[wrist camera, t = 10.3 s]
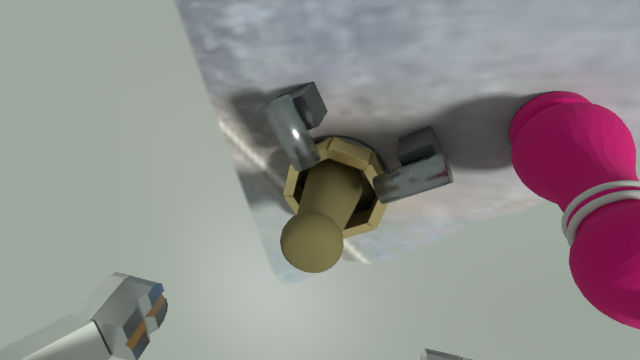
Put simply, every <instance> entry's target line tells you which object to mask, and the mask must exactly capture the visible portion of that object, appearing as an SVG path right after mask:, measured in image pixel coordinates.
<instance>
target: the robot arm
mask: <svg viewBox="0 0 640 360" xmlns="http://www.w3.org/2000/svg"><path fill="white" fill-rule="evenodd" d="M163 291H164V289H163V286H162V284H161V283H157V282H153V281H149V280H145V279H141V278H137V277H133V276H130V275H126V274H122V273H118V272H115V273H113V274H112V275H110V276H109V277H108V278H107V279H106V280H105V281H104V282H103V284H102V285H101V286H100V287H99V288H98V289H97V290H96V291H95V292H94V293H93V295H92V296H91V297H90V298H89V299H88V300H87V301H86V302H85V303H84V304H83V305H82V307H81V308H80V309H79V310H78V311H77V312H76V313H75V314H74V315H70V314H69V315H67V316H65V317H63V318H61V319H59V320H57V321H55V322H53V323H51V324H49V325H47V326H45V327H43V328H41V329H39V330H37V331H35V332H33V333H31V334H29V335H27V336H25V337H23V338H21V339H19V340H17V341H15V342H13V343H11V344H9V345H7V346H5V347H3V348H1V349H0V360H108V359H109V358H110V357H111V356H115V357H119V358H123V359H127V360H138V359H139V358H140V356H141V354H142V353H143V351H144V350H145V348H146V347H147V345H148V344H149V342H150V333H152V332H154V331H155V330H157V329H159V327H160V326H161V324H162V322H163V321H164V318H165V316H166V313H167V308H168V303H167V299H166V298H165V297H164V296H163V295H162V293H163ZM110 355H111V356H110ZM421 360H472V359H468V358H464V357H460V356H456V355H452V354H448V353H443V352H439V351H435V350H430V349H426V348H425V349H423V351H422V353H421Z"/></svg>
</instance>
